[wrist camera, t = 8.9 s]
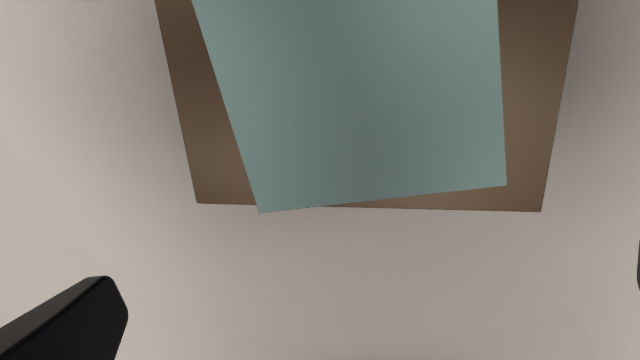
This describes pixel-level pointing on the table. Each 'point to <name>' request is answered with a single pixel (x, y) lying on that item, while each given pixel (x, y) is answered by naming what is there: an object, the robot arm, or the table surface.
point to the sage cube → (359, 96)
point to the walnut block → (518, 195)
